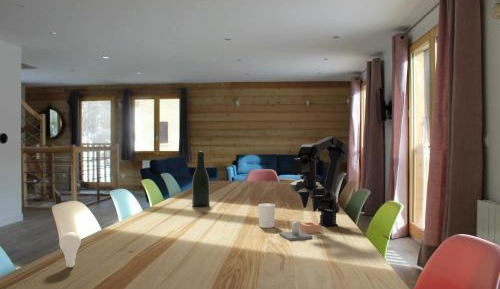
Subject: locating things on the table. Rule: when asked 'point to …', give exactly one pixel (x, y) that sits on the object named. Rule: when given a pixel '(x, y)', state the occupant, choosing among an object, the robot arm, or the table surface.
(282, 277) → the table surface
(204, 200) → the dark green wine bottle
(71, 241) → the lightbulb
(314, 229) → the ring
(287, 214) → the table surface
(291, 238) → the post plate
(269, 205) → the white cup
